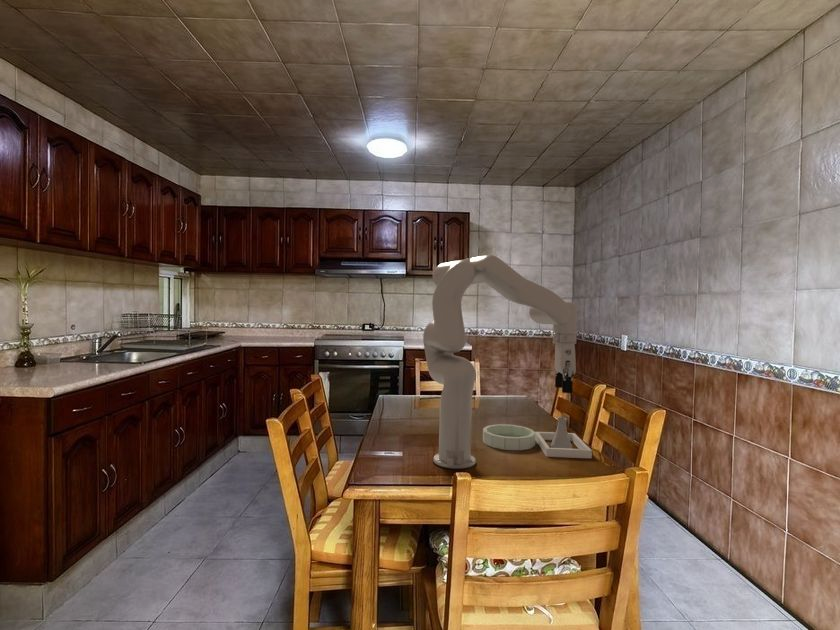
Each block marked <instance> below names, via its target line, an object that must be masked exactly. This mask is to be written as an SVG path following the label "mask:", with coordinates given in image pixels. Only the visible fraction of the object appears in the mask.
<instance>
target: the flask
mask: <svg viewBox="0 0 840 630" xmlns="http://www.w3.org/2000/svg"><path fill="white" fill-rule="evenodd" d="M556 420H557V426H556V427H557V428H556V430H555V432H556V433H555V435H554V438H553V440H551V444H550V446H549V448H569V449H573V444H572V443H571V442H572V441H570V439H569V436H568V433H569V432H568V429H567V421H568V418H567V417H557V418H556Z"/></svg>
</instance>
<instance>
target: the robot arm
mask: <svg viewBox="0 0 840 630" xmlns="http://www.w3.org/2000/svg"><path fill="white" fill-rule="evenodd" d="M432 280H433V283H434V285H435V286H436V287H435V289H434V292H433V296H432V301H431V302H432V304H431V305H432V316H433V320H432V321H430V322H429V323H428V324H427V325H426V326H425V328H424V331H423V335H422V336H423V337H422V339H423V340H422V342H423V347H424V355H425V359H426V365H427V370H428V373H429V376H430V377H431V379H432V380H433V381H434V382H436V383H438V384H440V385H443V387H442V390H441V394H440V399H439V426H438V427H439V432H438V434H439V435H438V453H436V454H434V456H433V458H432V459H433V462H434V464H436V465H437V466H439V467H442V468H447V469H452V470H453V469H454V470H455V469H457V470H459V469H460V470H461V469H467V468H472V467H473V466H475V464H476V460H477V459H476V457H475V456H474V455H471V450H472V449H471V448H472V416H473V415H472V414H473V413H472V405H473V392H474V386H475V384H476V383H475V382H476V368H475V366H474V364H473V363H472V362H471V361H470V360H468V359H467V358H465V357H463V356H458V355H456V354H455V355H454V353H458V352H460V351H462V350H463V349H464V347H465V345H466V344H467V343H466V342H467V335H466V330H465V324H464V318H463V311H462V309H463V308H462V300H463V296H464V294H465V292H466V290H467V289H468V288H470V286H471V285H475V284H483V283H484V284H486V285H487V286H489V287H490V288H492V290H495V291H496V292H497V293H498V294H499V295H501V296H502V297H504V298H505V299H506V300H508V301H510V302H512V303H515V304H519V305H522V306H523V305H524V306H527V307H530V308H529V311H528V313H529V317H530V319H531V320H532V321H533V322H534V323H537V324H540V325H541V324H543V325H552V344H555V347H554V369H555V375H554V381H555V382H554V387H555V388H560V389H561V392H562V394H572V393H573V389H574V388H573V384H574V383H573V382H574V379H573V376H574V375H575V374H576V371H577V370H576V369H577V368H576V365H577V363H576V361H577V360H576V346H575V345H577V329H578V328H577V327H578V326H577V325H578V305H577V303H575V302H572V301H565V300H564V299H563V298H561V296H559V295H558V294H557V293H555V292H553V291H552V290H550V289H549V288H547V287H544V286H543V285H540V284H538V283H536V282H534V281H532V280H530V279H527V278H525V277H524V276H522V275H521V274H520V273H519V272H517V271H516V270H515V269H514V268H512V267H511V266H509V264H507V263H506V262H504V260H502V259H501V258H499V257H498V256H497V255H494V254H493V255H492V254H486V255H485V254H484V255H478V256H474V257H471V258H465V259H459V260H452V261H448V262H447V261H446V262H442V263H440V264H438V265H437V266H436V267H435V268H434V270H433V273H432Z"/></svg>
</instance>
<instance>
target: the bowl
mask: <svg viewBox="0 0 840 630" xmlns="http://www.w3.org/2000/svg"><path fill="white" fill-rule="evenodd" d="M535 432H536V431H534V430H533V429H531V428H530V427H529V428H528V427H526V426H521V425H517V424H505V423H503V424H501V423H500V424H491V425H486V426H485V427H483V429H482V441H483V444H485V445H486V446H488V447H491V448H493V449H498V450H499V449H500V450H502V451H503V450H505V451H524V450H531V449H532V448H534V447H535V446H536V440H535Z"/></svg>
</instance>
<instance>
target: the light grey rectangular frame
mask: <svg viewBox="0 0 840 630" xmlns="http://www.w3.org/2000/svg"><path fill="white" fill-rule="evenodd" d="M534 432H535V443H537V445H538V447H540V449H541V450H542V452H543V453H544V456H545V457H549V458H568V459H569V458H571V459H572V458H573V459H575V458H576V459H592V458H593V450H592V449H591V448H590V447H589V446H588V445H587V444H586V443H585V442H584V441H583V439H581V438H580V437H579V436H578V435H577V434H576V433H575V432H567V433H568V436H569V439H570V442H572V443H573V444H574V445H575V446H576V447H577V448H572V449H569V448H552V447H550V446H549V445H548V443H547V442H546V441H552V440H553V438H554V435H555V433H556V431H555V432H554V431H534Z"/></svg>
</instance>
